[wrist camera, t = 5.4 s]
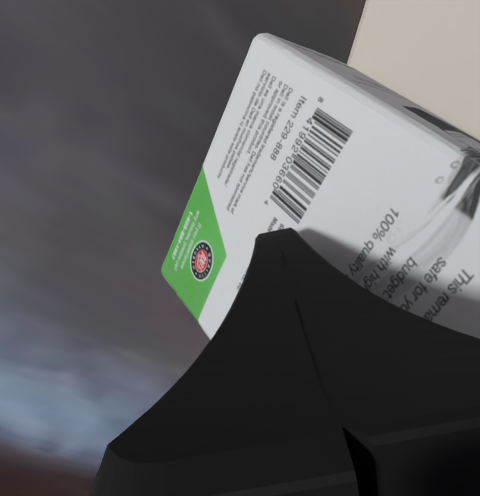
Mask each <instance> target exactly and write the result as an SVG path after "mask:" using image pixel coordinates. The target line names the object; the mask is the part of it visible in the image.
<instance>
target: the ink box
mask: <svg viewBox="0 0 480 496" xmlns="http://www.w3.org/2000/svg"><path fill="white" fill-rule="evenodd" d="M290 227H291V228H293V229H294V230H296V231H297V232H298V234H299V235H300V236H301V237H302V238H303V239H304V240H305V241H306V242H307V243H308V244H309V245H310V246H311V247H312V248H313V249H314V250H315V251H316V252H318V253H319V254H320V255H321V256H322V257H323V258H325V259H326V260H327V261H328V262H329V263H331V264H332V265H333V266H334V267H336V268H337V269H338V270H339V271H341V272H342V273H343V274H345V275H346V276H348V277H349V278H350V279H352V280H353V281H355V282H356V283H358V284H359V285H361V286H362V287H364V288H365V289H367V290H368V291H370V292H372V293H374V294H375V295H377V296H379V297H381V298H383V299H384V300H386V301H388V302H390V303H392V304H394V305H396V306H398V307H400V308H402V309H404V310H406V311H408V312H411V313H413V314H415V315H418V316H420V317H422V318H425V319H427V320H429V321H431V322H434V323H437V324H439V325H442V326H445V327H447V328H450V329H452V330H455V331H458V332H461V333H464V334H467V335H470V336H473V337H476V338H479V339H480V140H478V139H477V138H475V137H473V136H471V135H470V134H468V133H466V132H464V131H463V130H461V129H459V128H457V127H456V126H454V125H452V124H450V123H449V122H447V121H445V120H444V119H442V118H440V117H439V116H437V115H435V114H433V113H432V112H430V111H428V110H426V109H425V108H423V107H421V106H419V105H418V104H416V103H414V102H412V101H410V100H409V99H407V98H405V97H403V96H402V95H400V94H398V93H396V92H394V91H393V90H391V89H389V88H387V87H386V86H384V85H382V84H380V83H379V82H377V81H375V80H374V79H372V78H370V77H368V76H367V75H365V74H363V73H361V72H360V71H358V70H356V69H355V68H353V67H350V66H348V65H346V64H344V63H342V62H340V61H338V60H336V59H334V58H331V57H329V56H326V55H324V54H321V53H319V52H316V51H314V50H311V49H308V48H305V47H302V46H300V45H297V44H295V43H292V42H290V41H287V40H285V39H282V38H279V37H277V36H274V35H271V34H269V33H261V34H259V35H257V36H256V37H255V38H254V39H253V41H252V43H251V46H250V48H249V51H248V54H247V56H246V59H245V61H244V64H243V66H242V69H241V71H240V74H239V76H238V79H237V81H236V84H235V86H234V89H233V91H232V94H231V96H230V99H229V101H228V104H227V106H226V109H225V111H224V114H223V116H222V119H221V121H220V124H219V126H218V129H217V131H216V134H215V136H214V139H213V141H212V144H211V146H210V149H209V151H208V154H207V156H206V159H205V161H204V164H203V166H202V169H201V172H200V174H199V177H198V179H197V182H196V184H195V187H194V189H193V192H192V194H191V196H190V199H189V201H188V204H187V206H186V209H185V211H184V213H183V216H182V219H181V221H180V224H179V226H178V229H177V231H176V234H175V236H174V239H173V242H172V244H171V246H170V249H169V251H168V253H167V256H166V258H165V261H164V263H163V265H162V275H163V276H164V278H165V279H166V280H167V282H168V283H169V284H170V286H171V287H172V288H173V290H174V291H175V292H176V294H177V295H178V296H179V298H180V299H181V300H182V302H183V303H184V304H185V306H186V307H187V308H188V310H189V311H190V313H191V314H192V315H193V316H194V318H195V319H196V320H197V322H198V323H199V324H200V326H201V328H202V329H203V331H204V332H205V333H206V335H207V336H208V337H209V339H210V340H211V339H212V337H213V336H214V334H215V333H216V331H217V330H218V328H219V327H220V325H221V323H222V322H223V320H224V318H225V317H226V315H227V313H228V311H229V309H230V308H231V306H232V304H233V301H234V299H235V297H236V295H237V293H238V291H239V289H240V287H241V285H242V282H243V280H244V277H245V274H246V272H247V269H248V267H249V264H250V261H251V257H252V254H253V250H254V245H255V238H256V237H257V236H258V234H261V233H266V232H271V231H276V230H280V229H285V228H290Z"/></svg>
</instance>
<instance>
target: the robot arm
mask: <svg viewBox="0 0 480 496" xmlns="http://www.w3.org/2000/svg"><path fill="white" fill-rule="evenodd" d="M90 496H480V339H479V338H476V337H473V336H470V335H467V334H464V333H461V332H458V331H455V330H452V329H450V328H447V327H445V326H442V325H439V324H437V323H434V322H431V321H429V320H427V319H425V318H422V317H420V316H418V315H415V314H413V313H411V312H408V311H406V310H404V309H402V308H400V307H398V306H396V305H394V304H392V303H390V302H388V301H386V300H384V299H383V298H381V297H379V296H377V295H375V294H374V293H372V292H370V291H368V290H367V289H365V288H364V287H362V286H361V285H359V284H358V283H356V282H355V281H353V280H352V279H350V278H349V277H348V276H346V275H345V274H343V273H342V272H341V271H339V270H338V269H337V268H336V267H334V266H333V265H332V264H331V263H329V262H328V261H327V260H326V259H325V258H323V257H322V256H321V255H320V254H319V253H318V252H316V251H315V250H314V249H313V248H312V247H311V246H310V245H309V244H308V243H307V242H306V241H305V240H304V239H303V238H302V237H301V236H300V235H299V234H298V232H297V231H296V230H294V229H293V228H291V227H290V228H285V229H280V230H276V231H271V232H266V233H261V234H258V236H257V237H256V238H255V245H254V250H253V254H252V257H251V261H250V264H249V267H248V269H247V272H246V274H245V277H244V280H243V282H242V285H241V287H240V289H239V291H238V293H237V295H236V297H235V299H234V301H233V304H232V306H231V308H230V309H229V311H228V313H227V315H226V317H225V318H224V320H223V322H222V323H221V325H220V327H219V328H218V330H217V331H216V333H215V334H214V336H213V337H212V339H211V340H210V342H209V343H208V344H207V346H206V347H205V348H204V350H203V351H202V353H201V354H200V355H199V357H198V358H197V359H196V360H195V362H194V363H193V364H192V365H191V367H190V368H189V369H188V370H187V371H186V373H185V374H184V375H183V376H182V377H181V378H180V379H179V380H178V381H177V382H176V383H175V384H174V386H173V387H172V388H171V389H170V390H169V391H168V392H167V393H166V394H165V395H164V396H163V397H162V398H161V399H160V400H159V401H158V402H157V403H155V404H154V405H153V406H152V407H151V408H150V409H149V410H148V411H147V412H146V413H144V414H143V415H142V416H141V417H140V418H139V419H137V420H136V421H135V422H134V423H133V424H132V425H131V426H129V427H128V428H127V429H126V430H125V431H124V432H122V433H121V434H120V435H119V436H118V437H117V438H115V439H114V440H113V441H112V442H110V443H109V444H108V445H107V448H106V451H105V454H104V456H103V459H102V462H101V465H100V468H99V470H98V473H97V475H96V478H95V481H94V484H93V487H92V490H91V493H90Z"/></svg>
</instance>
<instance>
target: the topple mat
mask: <svg viewBox="0 0 480 496" xmlns="http://www.w3.org/2000/svg"><path fill="white" fill-rule="evenodd" d="M347 65H348V66H350V67H353V68H355V69H356V70H358V71H360V72H361V73H363V74H365V75H367V76H368V77H370V78H372V79H374V80H375V81H377V82H379V83H380V84H382V85H384V86H386V87H387V88H389V89H391V90H393V91H394V92H396V93H398V94H400V95H402V96H403V97H405V98H407V99H409V100H410V101H412V102H414V103H416V104H418V105H419V106H421V107H423V108H425V109H426V110H428V111H430V112H432V113H433V114H435V115H437V116H439V117H440V118H442V119H444V120H445V121H447V122H449V123H450V124H452V125H454V126H456V127H457V128H459V129H461V130H463V131H464V132H466V133H468V134H470V135H471V136H473V137H475V138H477V139H478V140H480V0H366V3H365V6H364V10H363V13H362V16H361V19H360V23H359V26H358V29H357V33H356V36H355V39H354V42H353V46H352V49H351V52H350V56H349V59H348V62H347Z"/></svg>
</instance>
